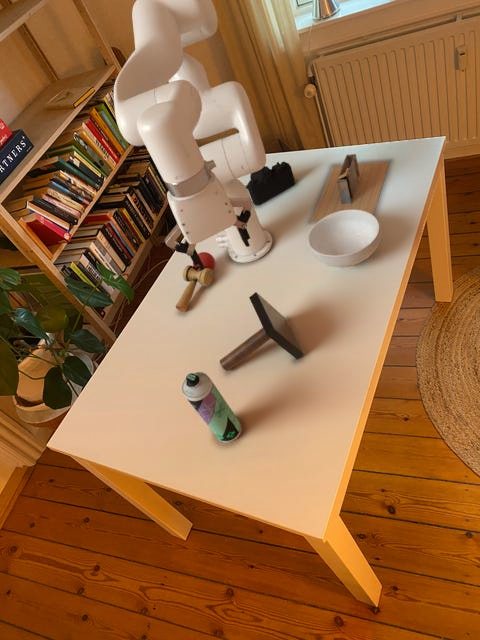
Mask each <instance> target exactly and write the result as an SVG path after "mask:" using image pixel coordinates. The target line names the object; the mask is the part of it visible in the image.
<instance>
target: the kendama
mask: <svg viewBox="0 0 480 640" xmlns="http://www.w3.org/2000/svg"><path fill="white" fill-rule="evenodd" d="M198 255H199V257H200V259H201V261H202V263H203V266H204V269H202V270H201V268H200V266H199V265H196V266H195V265H194V263H193V262H192V265H190V264H189V265H186V266H185V267H184V269H183V272H182V278H183V280H184V281H185V282H187V283H189V284H188V285H187V287H186V288H185V289H184V291H183V293H182V295H181V296H180V298H179V300H178V301H177V303H176V305H175V308H176V310H177V311H179V312H182V313H186V312H187V310H188V307H189V305H190V303H191V300H192V297H193V295H194V292H195V290H196V286H197V283H198V282H200V285H201V286H202V287H209V286H210V285H211V283H212V281H213V277H214V273H213V271H214V270H215V268H216V260H215V258H214V256H213V255H212V254H211V253H210V252H207V251H202V252H199V253H198Z"/></svg>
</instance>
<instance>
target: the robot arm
mask: <svg viewBox="0 0 480 640" xmlns="http://www.w3.org/2000/svg"><path fill="white" fill-rule="evenodd" d="M217 15H218V14H217V11H216V8H215V5H214V3H213V1H212V0H136V1H135V2H134V4H133V7H132V11H131V20H132V28H133V38H134V49H135V50H134V51H133V52H132V53H131V54H130V56H129V57H128V59H127V61H126V62H125V63H124V65H123V67H122V68H121V70H120V71H119V73H118V75H117V77H116V79H115V80H114V81H115V82H114V85H113V107H114V115H115V121H116V124H117V127H118V131H119V132H120V135H121V136H122V138H123V139H124V140H125V141H126V143H128V144H130V145H132V146H134V147H142V146H144V147H146V150H147V152H148V153H149V156H150V157H151V159H152V161H153V163H154V165H155V167H156V169H157V170H158V173H159V175H160V177H161V179H162V181H163V182H164V184H165V187H166V188H167V190H168V191H167V193H166V197H167V201H168V204H169V207H170V210H171V212H172V215H173V216H174V219H175V221H176V224H175V226H174V227H173V228H172V229H171V230H170V232H169V233H168V234H167V236H166V237H165V238H164V243H165V245H166V246H167V247H168V248H170V249H171V250H174V251H176V252H177V253H181V254H185V255H187V256H188V257H190V259H191V261H192V264H193V263H194V265H195V266H196V265H199V266H200V268H201V270H202V269H204V266H203V263H202V261H201V259H200V257H199V255H198V254H199V253H198V252H197V249H196V246H197V244H199V243H201V242H203V241H205V240H207V239H210V238H211V237H213V236H215V235H216V237H215V240H216V243H218V248H219V249H221V248H222V249H223V248H227V253H228V255H229V257H230V259H231V260H233V261H234V262H236V263H243V264H245V263H251V262H254V261H256V260H259V259H261V258H262V257H264V256H265V255H266V254H267V253H269V251H270V249H271V248H272V247H273V246H272V245H273V236H272V235H271V233H270V232H269V231H268V230H267V229H264V228H263V227H262V224H261V221H260V219H259V217H258V214H257V212H256V211H257V210H256V209H255V205H254V203H253V201H252V199H251V196H250V194H249V191H248V189H247V188H246V185H245V184H244V183H243V182H242V181H241V180H239V179H240V178H243V177H246V176H248V175H251V173H254V172H257V171H259V170H261V169H262V168H263V167H264V166H266V164H267V154H266V150H265V147H264V143H263V140H262V137H261V133H260V131H259V128H258V124H257V121H256V117H255V115H254V111H253V108H252V104H251V101H250V99H249V96H248V94H247V92H246V90H245V88H244V87H243V85H242V84H241V83H240V82H238V81H235V80H231V81H226V82H224V83H220V84H218V85H216V86H214V87H213V86H212V87H211V85H210V82H209V78H208V76H207V72H206V69H205V67H204V65H203V64H202V62H200V61H199V60H198V59H196V58H195V57H193V56H192V55H190V54H188V53H187V52H185V51H184V49H185V48H186V47H189V46H192V45H193V44H196V43H199V42H201V41H204V40H206V39H209V38H211V37H213V36H214V35H215V34H216V32H217V30H218V24H219V23H218V16H217ZM232 129H235V130H238V132H237V133H234V134H232V135H228V136H225V137H222V138H220V139H217V140H214V141H211V142H209V143H206V144H203V145H201V146H199V145H198V143H197V141H196V140H202V139H206V138H210V137H212V136H215V135H218V134H221V133H223V132H226V131H229V130H232ZM223 231H224V233H225V235H217V234H219V233H221V232H223ZM181 234H182V235H183V237H184V242H181V241H177V240H178V238H179V237H180V236H181Z"/></svg>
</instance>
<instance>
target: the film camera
mask: <svg viewBox="0 0 480 640" xmlns="http://www.w3.org/2000/svg"><path fill="white" fill-rule="evenodd" d="M249 175H250V176H249V177H250V178H249V179H250V180H248V183H247V184H245V187H246V188H247V190H248V193H249V195H250V198H251V201H252V203H253V205H254V206H261V205H263V204H264V203H266V202H268V201H270V200H271V199H274V198H275V197H277V196H279V195H281V194H282V193H284V192H285V191H287V190H289V189H290V188H292V187H293V186H294V185H295V183H296V182H295V181H296V180H295V179H296V178H295V176H294V173H293V169H292V166H291V165H290V163H288V162H286V161H282V162H279V161H277V162H276V164H274V165H272V166H271V168H270V167H269V166H267V165H265V166H264V167H263V168H262V169H261V170H259V171H257V172H254V173H251V174H249Z"/></svg>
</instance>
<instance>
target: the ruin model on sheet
mask: <svg viewBox="0 0 480 640" xmlns="http://www.w3.org/2000/svg"><path fill="white" fill-rule="evenodd" d="M390 162H391V161H390V160H386V161H374V162H373V161H372V162H360V163H358V157H357V153H353V154H346V155H345V158H344V160H343V163H342V164H335V165H333V166H332V168H331V171H330V174H329V176H328V178H327V180H326V184H325V186H324V188H323V191H322V193H321V196H320V199H319V201H318V203H317V206H316V208H315V211H314V213H313V217H312V219H311V222H318V221H320V220H321V219H322V218H324V217H326V216H328V215H330V214H332V213H335V212H339V211H343V210H362V211H366V212H368V213H370V214H372V215H373V216H375V211H376V208H377V205H378V201H379V198H380V195H381V191H382V188H383V185H384V181H385V179H386V175H387V172H388V169H389V165H390Z"/></svg>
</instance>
